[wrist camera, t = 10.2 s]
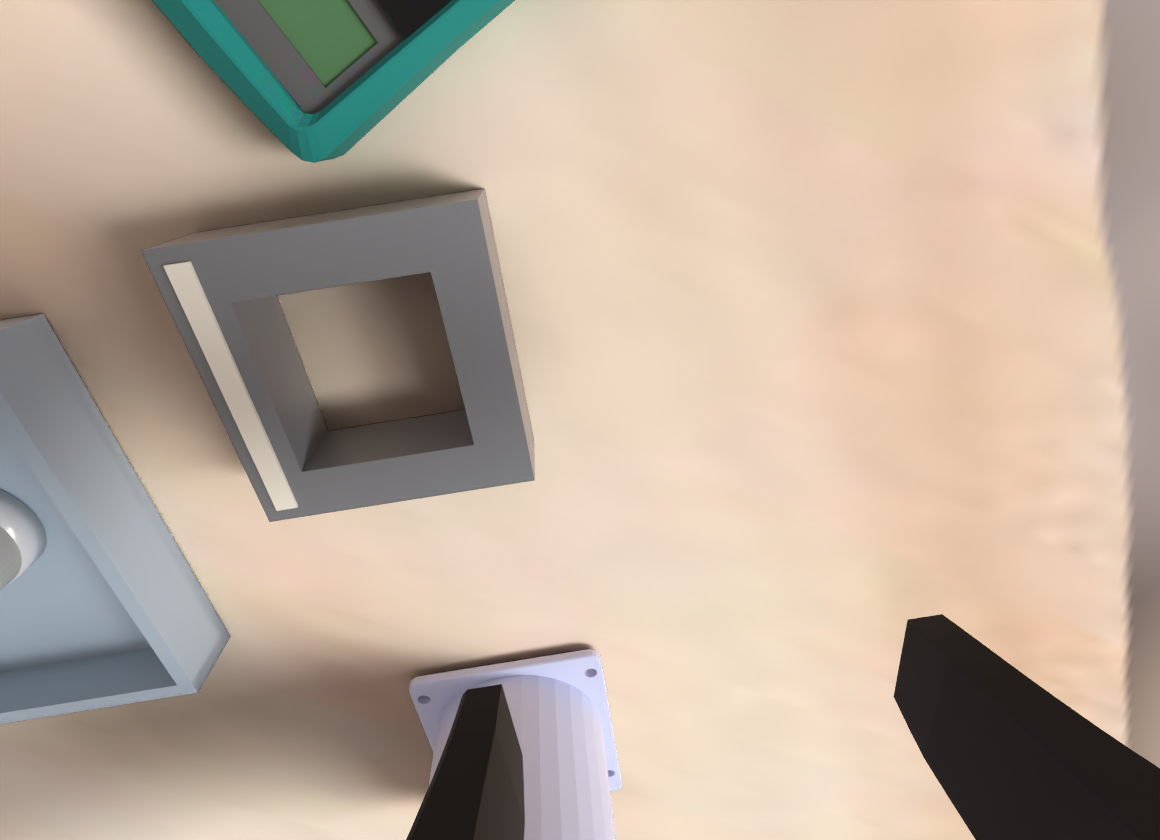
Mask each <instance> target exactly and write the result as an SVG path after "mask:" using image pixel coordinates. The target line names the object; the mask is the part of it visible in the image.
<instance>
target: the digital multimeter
mask: <svg viewBox="0 0 1160 840" xmlns="http://www.w3.org/2000/svg"><path fill="white" fill-rule="evenodd" d="M152 1H153V2H154V3H155V4H156V6H157V7H158V8H159V9H160V10H161V12H162V13H163V14H164V15H165V16H166V17H167V19H168V20H169V21H170V22H171V23H172V24H173V26H174V27H175V28H176V29H177V30H178V31H179V33H180V34H181V35H182V36H183V37H184V38H185V40H186V41H187V42H188V43H189V44H190V45H191V47H192V48H193V49H194V50H195V51H196V52H197V54H198V55H199V56H200V57H201V58H202V59H203V60H204V61H205V62H206V63H207V64H208V65H209V66H210V67H211V69H212V70H213V71H214V72H215V73H216V74H217V75H218V76H219V77H220V78H221V79H222V80H223V81H224V82H225V84H226V85H227V86H228V87H229V88H230V89H231V90H232V91H233V92H234V93H235V94H236V95H237V96H238V97H239V99H240V100H241V101H242V102H243V103H244V104H245V105H246V106H247V107H248V108H249V109H250V110H251V111H252V112H253V113H254V114H255V115H256V116H257V117H258V118H259V119H260V120H261V121H262V122H263V123H264V124H265V125H266V126H267V127H268V128H269V129H270V130H271V131H272V133H273V134H274V135H275V136H276V137H277V138H278V139H279V140H280V141H281V142H282V143H283V144H284V145H285V146H286V147H287V148H288V149H289V150H290V151H291V152H292V153H294V154H295V155H296V156H297V157H299V158H300V159H301V160H304V161H309V162H314V163H315V162H319V161H324V160H329V159H334V158H337V157H339V156H342V155H344V154H345V153H346V152H347V151H348V150H349V149H350V148H352V147H353V146H354V145H355V144H356V143H357V142H358V141H359V140H360V139H361V138H362V137H363V136H365V135H366V134H367V133H368V132H369V131H370V130H371V129H372V128H373V127H374V126H375V125H376V124H378V123H379V122H380V121H381V120H382V119H383V118H384V117H385V116H386V115H387V114H388V113H389V112H391V111H392V110H393V109H394V108H395V107H396V106H397V105H398V104H399V103H400V102H401V101H402V100H403V99H405V98H406V97H407V96H408V95H409V94H410V93H411V92H412V91H413V90H414V89H415V88H416V87H418V86H419V85H420V84H421V83H422V82H423V81H424V80H425V79H426V78H427V77H428V76H429V75H431V74H432V73H433V72H434V71H435V70H436V69H437V68H438V67H439V66H440V65H441V64H442V63H444V62H445V61H446V60H447V59H448V58H449V57H450V56H451V55H452V54H453V53H454V52H455V51H456V50H458V49H459V48H460V47H461V46H462V45H463V44H465V43H466V42H467V41H468V40H469V39H470V38H472V37H473V36H474V35H475V34H476V33H477V32H479V31H480V30H481V29H482V28H483V27H484V26H486V25H487V24H488V23H489V22H490V21H491V20H493V19H494V18H495V17H496V16H497V15H498V14H499V13H501V12H502V11H503V10H504V9H505V8H506V7H508V6H509V5H510V4H511V3H512V2H513V1H515V0H451V1H450V0H152ZM446 3H447V4H446ZM445 4H446V5H445ZM444 5H445V6H444ZM443 6H444V7H443ZM439 9H440V10H439ZM438 10H439V11H438ZM437 11H438V12H437ZM436 12H437V13H436ZM432 15H433V16H432ZM431 16H432V17H431ZM430 17H431V18H430ZM425 21H426V22H425ZM424 22H425V23H424ZM423 23H424V24H423ZM419 26H420V27H419ZM418 27H419V28H418ZM417 28H418V29H417ZM416 29H417V30H416ZM411 33H412V34H411ZM410 34H411V35H410ZM409 35H410V36H409ZM405 38H406V39H405ZM275 76H276V77H275ZM279 81H280V82H279ZM282 85H283V86H284V87H283V86H282ZM286 90H287V91H288V92H287V91H286ZM289 94H290V95H291V96H292V97H293V98H292V97H291V96H290V95H289ZM293 99H294V100H295V101H296V102H297V104H298V105H299V106H300V107H301V108H300V107H299V106H298V105H297V104H296V102H295V101H294V100H293Z"/></svg>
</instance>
